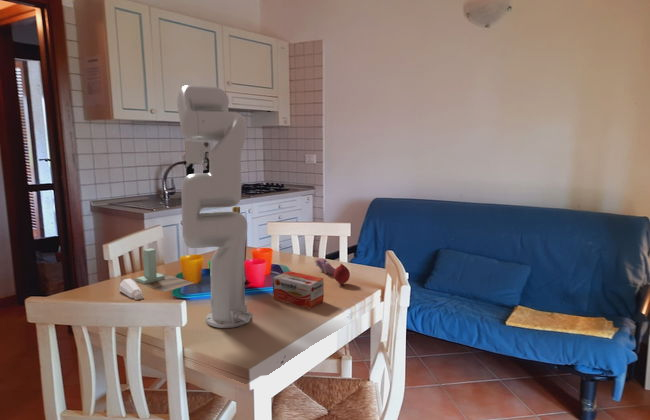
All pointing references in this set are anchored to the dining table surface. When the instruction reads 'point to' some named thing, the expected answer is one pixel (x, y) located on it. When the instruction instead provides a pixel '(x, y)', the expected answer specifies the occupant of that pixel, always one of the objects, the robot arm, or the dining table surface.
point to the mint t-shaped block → (149, 267)
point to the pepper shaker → (131, 289)
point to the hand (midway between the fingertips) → (198, 179)
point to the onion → (341, 274)
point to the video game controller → (325, 266)
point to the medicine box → (298, 289)
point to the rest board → (167, 283)
